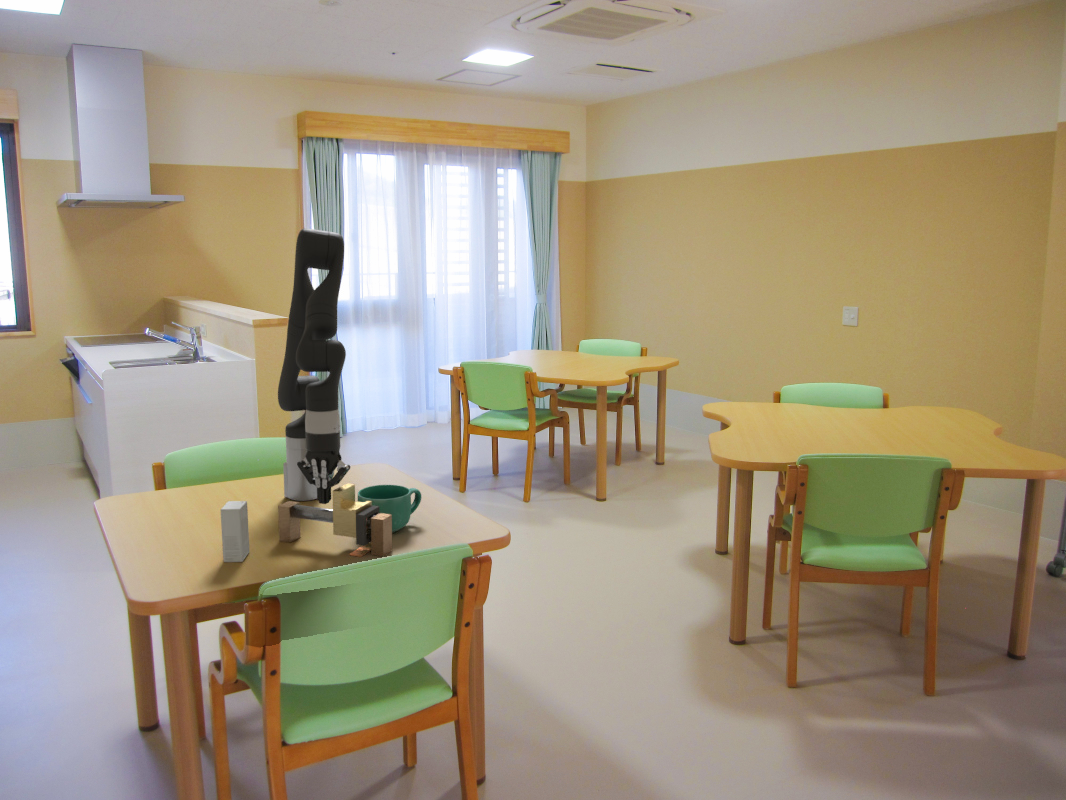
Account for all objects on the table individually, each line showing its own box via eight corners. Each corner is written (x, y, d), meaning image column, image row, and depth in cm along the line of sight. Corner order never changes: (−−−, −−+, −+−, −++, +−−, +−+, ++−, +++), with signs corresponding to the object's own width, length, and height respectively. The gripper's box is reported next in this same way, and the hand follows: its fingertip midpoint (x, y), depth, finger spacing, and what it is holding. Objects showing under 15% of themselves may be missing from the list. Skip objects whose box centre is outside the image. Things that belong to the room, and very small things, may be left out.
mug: (371, 541, 190) (371, 502, 188) (349, 526, 199) (348, 489, 198) (434, 528, 199) (434, 491, 197) (410, 515, 209) (410, 479, 207)
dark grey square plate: (356, 544, 180) (355, 514, 179) (372, 534, 187) (371, 505, 185) (364, 545, 180) (363, 515, 178) (379, 535, 186) (379, 506, 185)
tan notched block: (332, 535, 182) (331, 491, 180) (348, 525, 188) (348, 483, 186) (356, 538, 180) (355, 494, 178) (371, 528, 186) (371, 485, 185)
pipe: (274, 543, 187) (272, 508, 185) (294, 532, 194) (293, 498, 193) (379, 559, 178) (378, 522, 177) (396, 547, 186) (395, 511, 184)
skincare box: (230, 552, 181) (227, 500, 179) (250, 552, 181) (247, 500, 179) (222, 562, 175) (219, 509, 173) (242, 562, 175) (240, 509, 173)
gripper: (287, 429, 181) (289, 504, 184) (339, 434, 177) (341, 511, 180) (306, 423, 188) (308, 495, 191) (357, 428, 184) (358, 501, 187)
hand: (324, 502), depth 186 cm, fingers closed
